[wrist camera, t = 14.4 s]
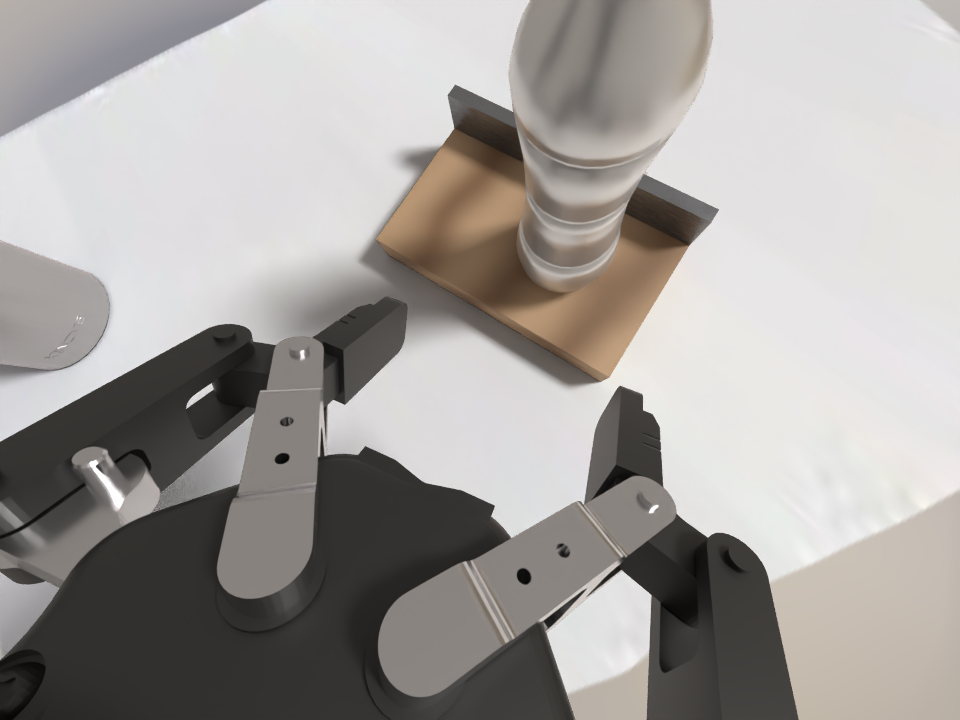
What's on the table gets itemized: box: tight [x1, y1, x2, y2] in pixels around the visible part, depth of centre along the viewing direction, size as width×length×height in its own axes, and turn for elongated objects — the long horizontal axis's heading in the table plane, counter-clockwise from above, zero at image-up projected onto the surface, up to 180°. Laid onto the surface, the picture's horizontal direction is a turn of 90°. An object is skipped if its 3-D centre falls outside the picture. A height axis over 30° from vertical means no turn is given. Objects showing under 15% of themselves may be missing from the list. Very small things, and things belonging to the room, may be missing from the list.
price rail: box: [448, 85, 719, 245], centre depth 26 cm, size 20×2×3 cm, turn 57°
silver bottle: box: [509, 0, 713, 293], centre depth 17 cm, size 6×7×20 cm
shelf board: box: [376, 129, 689, 382], centre depth 28 cm, size 20×12×2 cm, turn 57°
